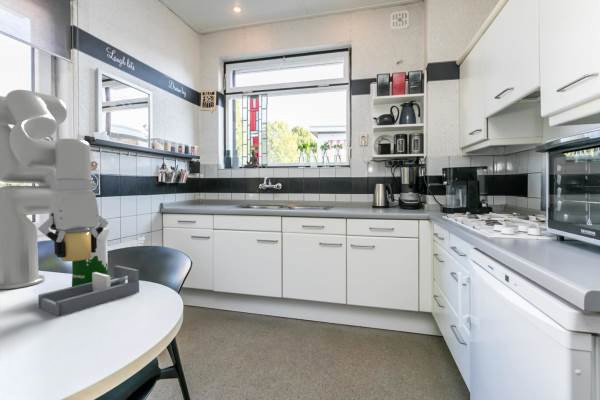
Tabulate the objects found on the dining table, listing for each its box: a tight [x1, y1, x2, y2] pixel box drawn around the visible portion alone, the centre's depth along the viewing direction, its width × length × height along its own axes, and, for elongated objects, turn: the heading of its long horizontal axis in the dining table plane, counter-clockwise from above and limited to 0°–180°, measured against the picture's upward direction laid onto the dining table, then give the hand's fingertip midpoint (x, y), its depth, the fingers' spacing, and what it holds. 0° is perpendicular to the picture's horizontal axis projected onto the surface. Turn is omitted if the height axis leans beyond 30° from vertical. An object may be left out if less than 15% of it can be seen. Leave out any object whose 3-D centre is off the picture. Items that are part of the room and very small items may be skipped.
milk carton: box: [71, 227, 111, 287], centre depth 95 cm, size 9×9×20 cm
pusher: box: [92, 272, 128, 292], centre depth 90 cm, size 8×8×6 cm
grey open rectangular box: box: [38, 265, 140, 317], centre depth 85 cm, size 11×20×6 cm, turn 149°
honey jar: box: [61, 228, 92, 262], centre depth 81 cm, size 7×7×8 cm
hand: (76, 253), depth 81 cm, fingers closed on honey jar, 6 cm apart
